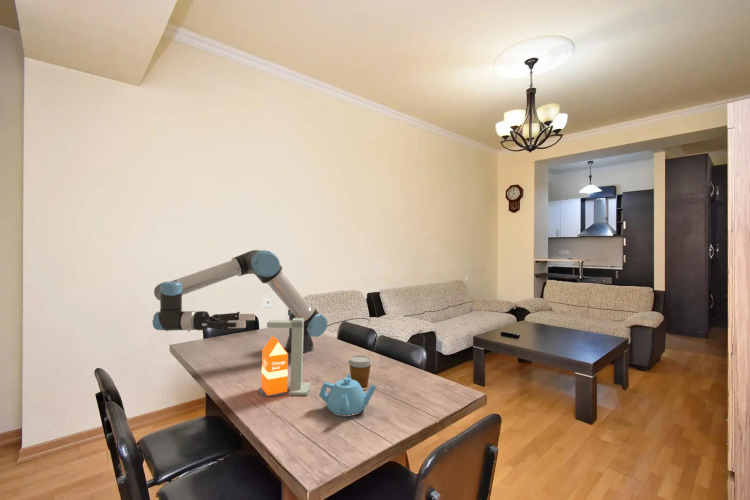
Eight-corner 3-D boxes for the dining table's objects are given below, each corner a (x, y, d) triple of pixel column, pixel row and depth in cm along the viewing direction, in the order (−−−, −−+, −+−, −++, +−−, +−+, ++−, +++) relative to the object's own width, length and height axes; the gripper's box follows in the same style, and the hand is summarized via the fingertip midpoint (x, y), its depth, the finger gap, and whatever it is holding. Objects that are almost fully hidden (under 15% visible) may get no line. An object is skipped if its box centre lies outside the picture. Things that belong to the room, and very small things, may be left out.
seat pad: (254, 396, 130) (254, 395, 130) (262, 384, 142) (262, 383, 142) (286, 396, 131) (287, 395, 131) (292, 384, 143) (292, 383, 143)
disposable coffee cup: (374, 385, 144) (375, 356, 144) (366, 394, 135) (367, 363, 135) (353, 382, 147) (353, 353, 147) (343, 390, 138) (344, 360, 138)
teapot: (349, 395, 134) (350, 367, 134) (377, 409, 123) (377, 379, 123) (316, 407, 123) (317, 377, 123) (343, 423, 112) (343, 390, 112)
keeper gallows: (263, 395, 131) (265, 321, 131) (269, 385, 141) (271, 316, 141) (307, 395, 132) (309, 322, 132) (310, 385, 142) (312, 316, 142)
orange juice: (280, 383, 142) (281, 334, 142) (287, 391, 135) (288, 339, 135) (260, 387, 138) (262, 336, 138) (267, 395, 130) (268, 342, 130)
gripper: (208, 322, 153) (258, 322, 154) (181, 338, 128) (240, 337, 130) (208, 305, 153) (258, 305, 154) (181, 318, 128) (240, 317, 129)
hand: (250, 320), depth 142 cm, fingers open, 13 cm apart
